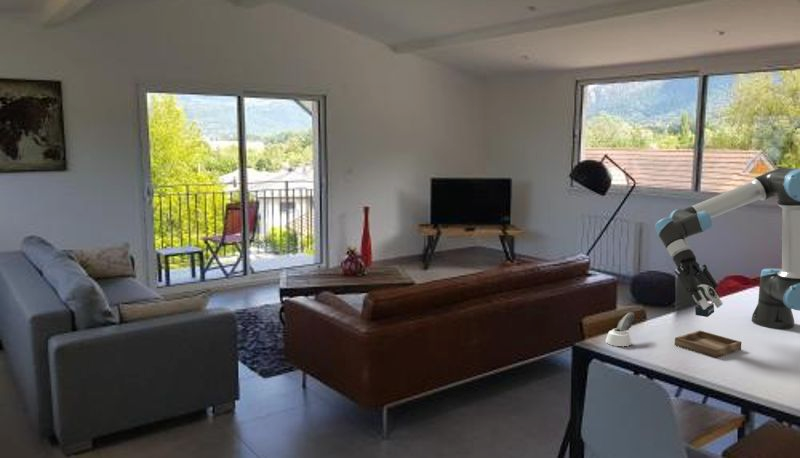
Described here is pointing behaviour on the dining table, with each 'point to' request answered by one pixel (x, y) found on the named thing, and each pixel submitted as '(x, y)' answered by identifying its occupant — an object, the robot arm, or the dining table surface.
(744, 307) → the dining table surface
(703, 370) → the dining table surface
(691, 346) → the walnut tray
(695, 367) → the dining table surface
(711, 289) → the watch
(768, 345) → the dining table surface
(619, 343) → the inkwell
